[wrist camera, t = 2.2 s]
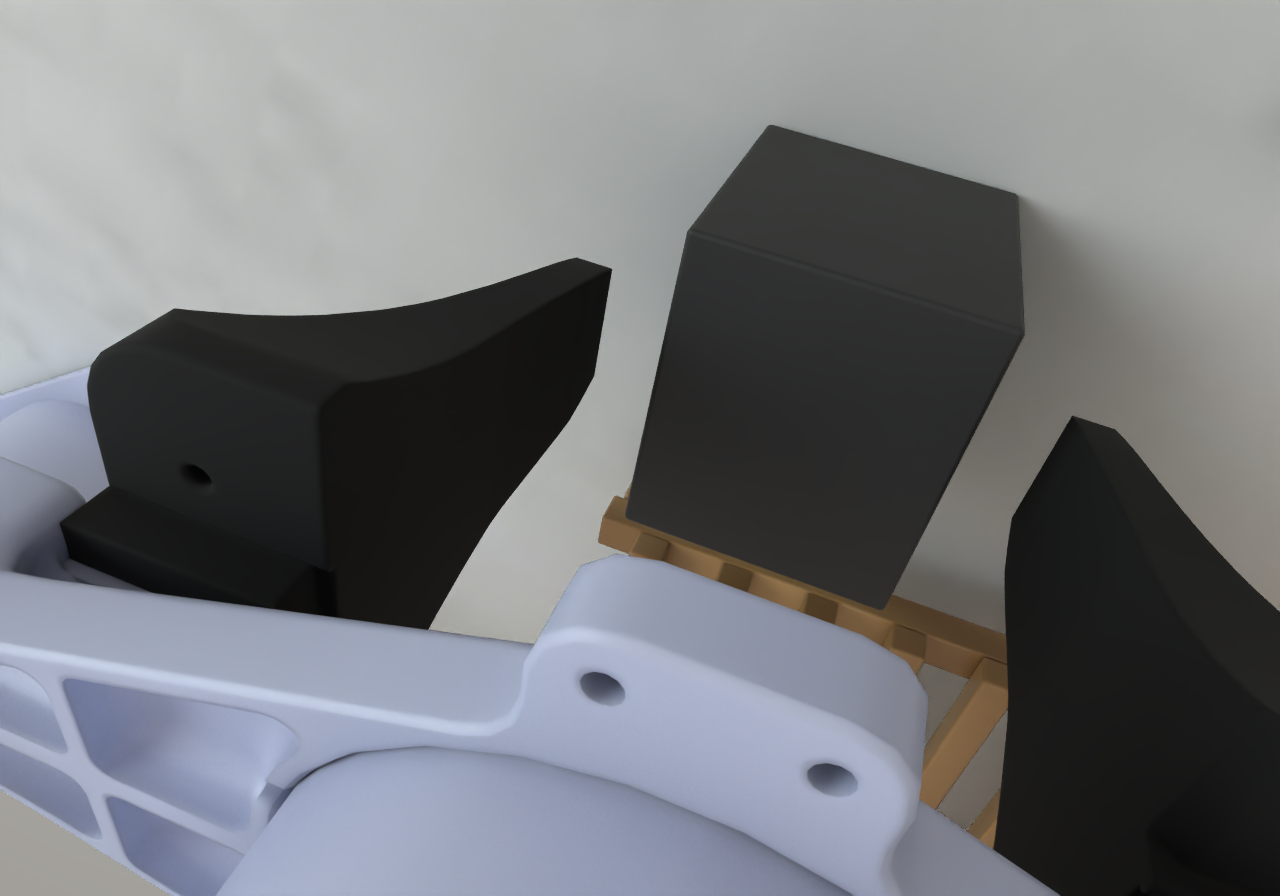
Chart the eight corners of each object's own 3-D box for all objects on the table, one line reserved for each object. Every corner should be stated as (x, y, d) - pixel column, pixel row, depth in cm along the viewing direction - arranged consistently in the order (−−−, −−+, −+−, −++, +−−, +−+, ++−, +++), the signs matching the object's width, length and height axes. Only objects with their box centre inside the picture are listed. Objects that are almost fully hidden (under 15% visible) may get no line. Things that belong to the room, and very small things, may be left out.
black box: (704, 368, 19) (622, 519, 15) (767, 122, 16) (686, 228, 11) (909, 436, 18) (883, 614, 14) (1019, 193, 15) (1027, 332, 11)
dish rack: (580, 712, 27) (499, 885, 22) (639, 449, 20) (541, 619, 16) (1085, 913, 24) (1104, 1150, 20) (1324, 688, 18) (1425, 960, 14)
